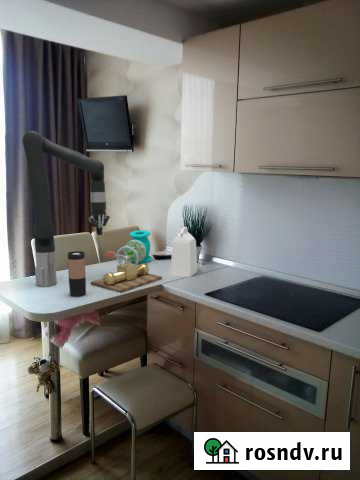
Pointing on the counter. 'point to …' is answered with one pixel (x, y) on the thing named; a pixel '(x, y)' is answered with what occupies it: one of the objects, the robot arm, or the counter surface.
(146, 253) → the valve
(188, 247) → the milk
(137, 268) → the brass valve
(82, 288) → the travel mug
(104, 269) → the counter surface
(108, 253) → the valve lever
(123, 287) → the mounting board
